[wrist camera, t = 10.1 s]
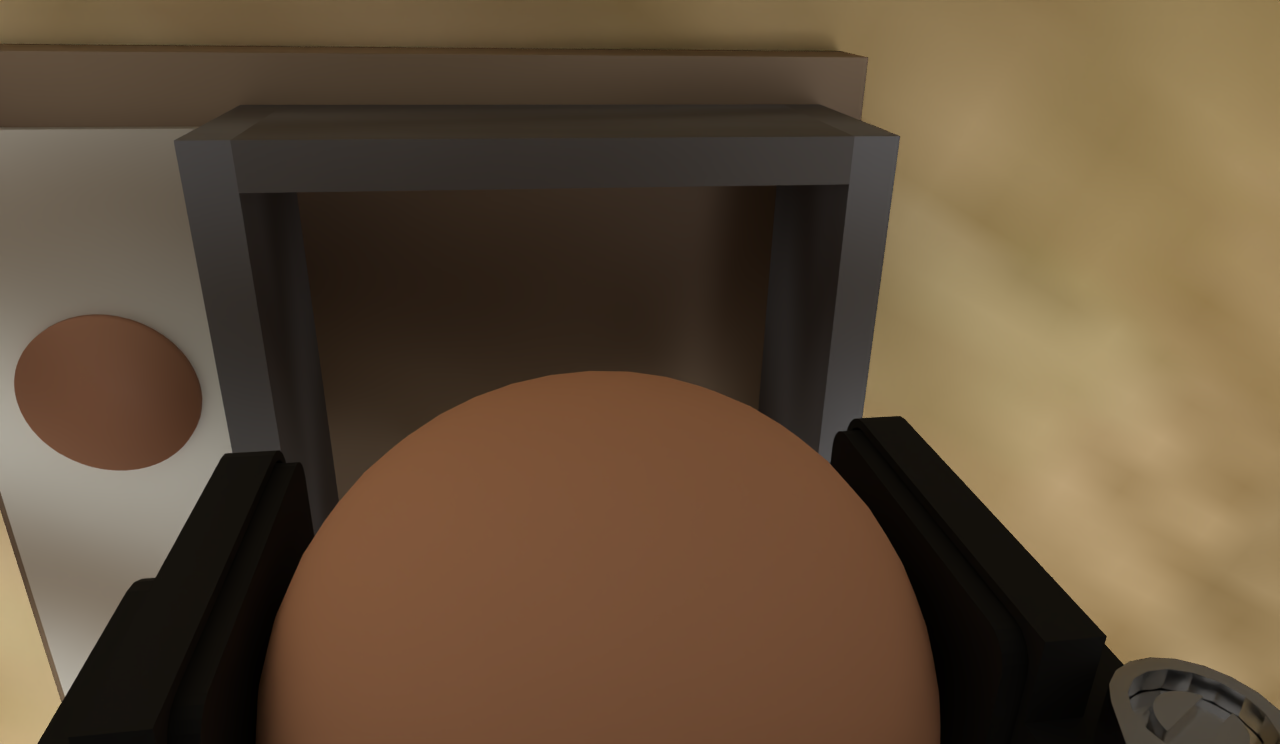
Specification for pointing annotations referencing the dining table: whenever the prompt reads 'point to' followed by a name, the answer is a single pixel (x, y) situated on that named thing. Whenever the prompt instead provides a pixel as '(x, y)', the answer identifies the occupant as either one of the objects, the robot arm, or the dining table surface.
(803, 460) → the terracotta ball
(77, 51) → the grey divided tray
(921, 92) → the dining table surface
